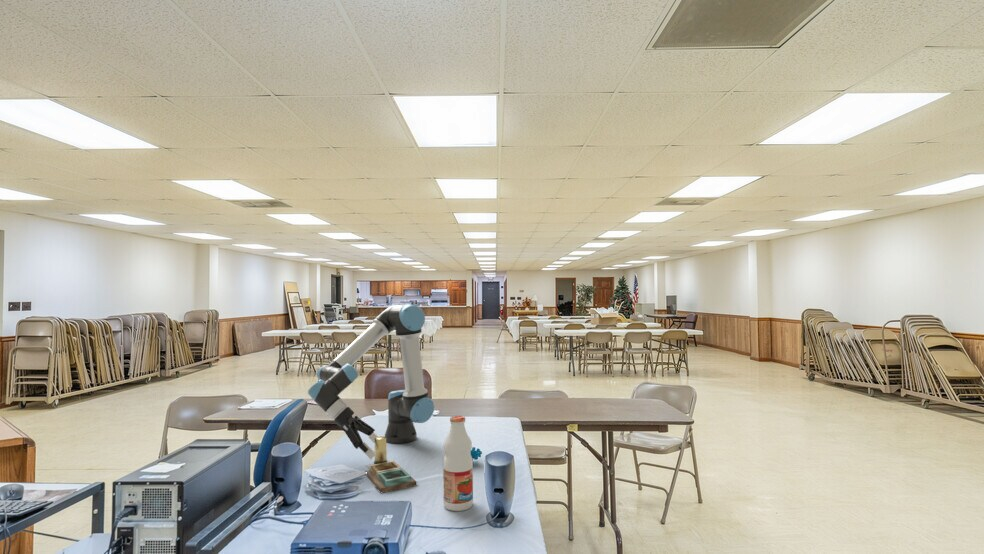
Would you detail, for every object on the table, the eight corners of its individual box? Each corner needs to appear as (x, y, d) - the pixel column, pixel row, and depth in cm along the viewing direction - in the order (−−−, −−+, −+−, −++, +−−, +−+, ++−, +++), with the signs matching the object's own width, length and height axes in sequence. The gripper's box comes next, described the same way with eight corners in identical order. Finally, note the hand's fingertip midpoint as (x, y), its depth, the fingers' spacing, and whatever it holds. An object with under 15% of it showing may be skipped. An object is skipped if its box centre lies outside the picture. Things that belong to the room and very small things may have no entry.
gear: (483, 455, 196) (480, 443, 190) (484, 469, 192) (481, 457, 185) (456, 460, 196) (452, 448, 190) (457, 473, 192) (453, 462, 185)
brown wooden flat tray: (398, 468, 187) (398, 459, 187) (416, 485, 170) (416, 475, 170) (365, 475, 181) (365, 465, 181) (380, 493, 163) (380, 482, 163)
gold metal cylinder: (385, 463, 192) (385, 435, 193) (389, 466, 188) (389, 438, 188) (372, 465, 190) (372, 437, 190) (375, 469, 185) (376, 440, 186)
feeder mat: (389, 462, 195) (389, 460, 195) (396, 468, 187) (396, 467, 187) (364, 466, 190) (364, 465, 190) (371, 473, 182) (371, 472, 182)
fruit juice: (451, 497, 159) (451, 412, 160) (477, 501, 155) (476, 414, 157) (438, 509, 150) (437, 419, 151) (465, 513, 146) (464, 421, 148)
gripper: (343, 412, 202) (379, 448, 201) (322, 427, 177) (362, 468, 176) (356, 399, 202) (391, 435, 201) (336, 413, 177) (376, 454, 176)
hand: (378, 451), depth 188 cm, fingers open, 13 cm apart
